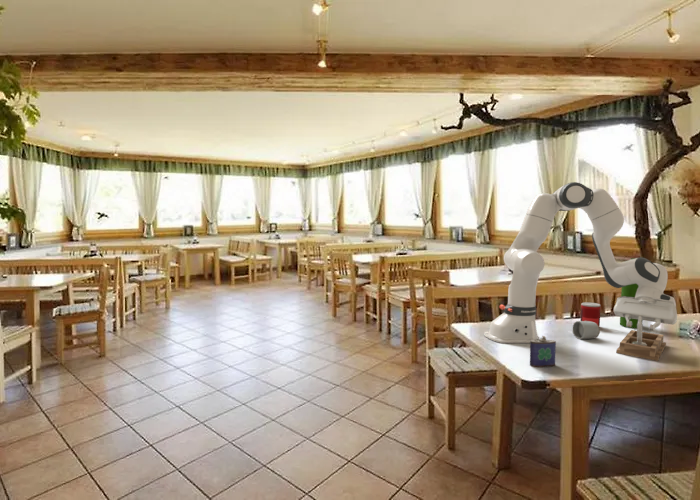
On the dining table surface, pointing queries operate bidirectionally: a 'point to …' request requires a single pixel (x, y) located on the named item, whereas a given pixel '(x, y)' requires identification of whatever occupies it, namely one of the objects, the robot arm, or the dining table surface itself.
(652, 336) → the rack
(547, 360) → the flask
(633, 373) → the dining table surface
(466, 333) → the dining table surface
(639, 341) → the screw
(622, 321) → the wine bottle
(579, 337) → the ceramic mug
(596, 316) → the canned food
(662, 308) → the robot arm
